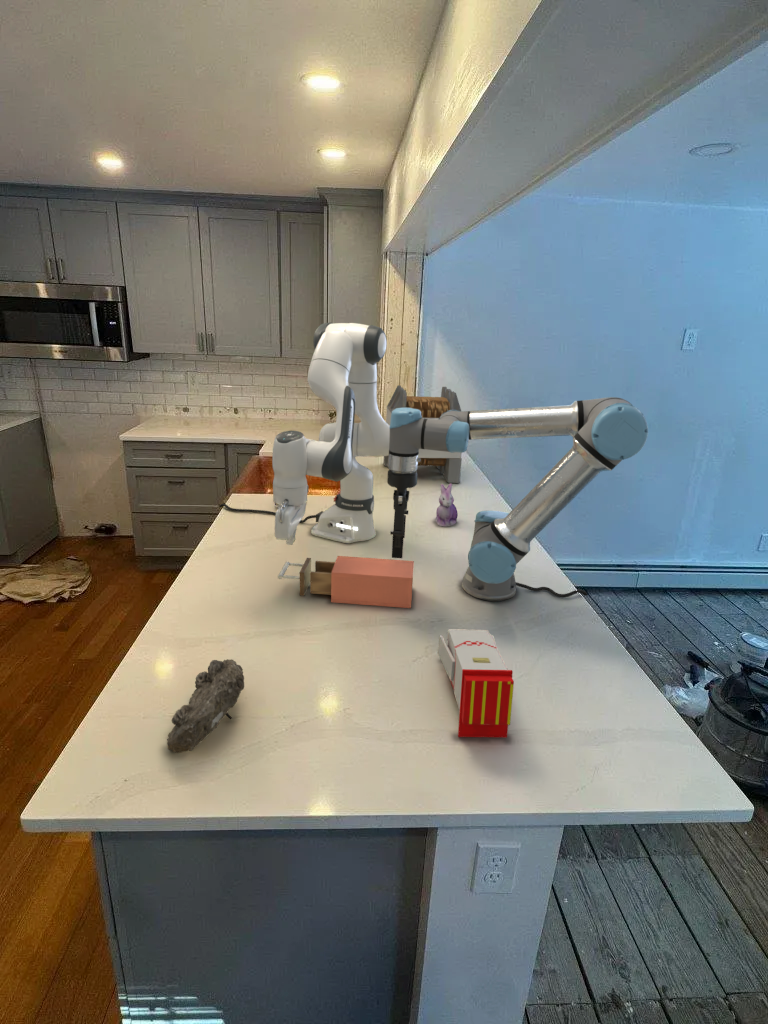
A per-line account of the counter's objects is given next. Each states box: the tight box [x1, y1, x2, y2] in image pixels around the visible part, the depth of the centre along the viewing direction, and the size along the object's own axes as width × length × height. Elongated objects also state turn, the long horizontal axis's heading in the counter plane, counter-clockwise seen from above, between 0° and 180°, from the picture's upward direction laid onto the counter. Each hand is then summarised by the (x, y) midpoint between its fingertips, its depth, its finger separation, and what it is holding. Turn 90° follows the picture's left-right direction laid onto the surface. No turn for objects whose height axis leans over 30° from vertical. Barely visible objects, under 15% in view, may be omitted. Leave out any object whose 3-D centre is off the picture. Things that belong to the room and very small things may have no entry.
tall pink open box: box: [330, 555, 415, 609], centre depth 155 cm, size 21×11×9 cm, turn 86°
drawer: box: [277, 557, 336, 597], centre depth 155 cm, size 26×10×7 cm, turn 86°
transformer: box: [383, 384, 463, 484], centre depth 268 cm, size 34×33×41 cm
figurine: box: [434, 483, 459, 527], centre depth 210 cm, size 9×10×15 cm
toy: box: [437, 628, 515, 738], centre depth 117 cm, size 12×13×30 cm
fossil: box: [166, 658, 245, 754], centre depth 106 cm, size 22×10×15 cm
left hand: (290, 542), depth 153 cm, fingers closed
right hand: (398, 547), depth 151 cm, fingers open, 13 cm apart
